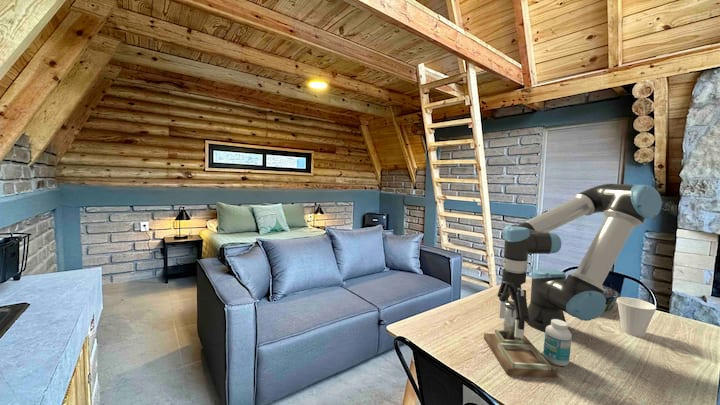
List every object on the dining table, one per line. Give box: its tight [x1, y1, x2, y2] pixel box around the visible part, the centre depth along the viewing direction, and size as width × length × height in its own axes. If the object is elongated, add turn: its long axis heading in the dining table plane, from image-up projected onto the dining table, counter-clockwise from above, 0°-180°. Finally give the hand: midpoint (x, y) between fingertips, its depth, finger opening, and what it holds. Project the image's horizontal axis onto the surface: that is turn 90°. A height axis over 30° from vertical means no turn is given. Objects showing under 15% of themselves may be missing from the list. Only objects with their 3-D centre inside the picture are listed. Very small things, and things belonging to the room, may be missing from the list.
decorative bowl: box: [602, 284, 622, 313], centre depth 148 cm, size 26×28×10 cm
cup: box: [616, 296, 657, 337], centre depth 121 cm, size 12×12×12 cm
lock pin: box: [503, 300, 517, 340], centre depth 109 cm, size 5×5×14 cm
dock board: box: [483, 329, 558, 379], centre depth 103 cm, size 15×21×4 cm
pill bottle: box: [542, 319, 573, 367], centre depth 101 cm, size 8×7×14 cm
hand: (510, 327), depth 109 cm, fingers open, 13 cm apart
